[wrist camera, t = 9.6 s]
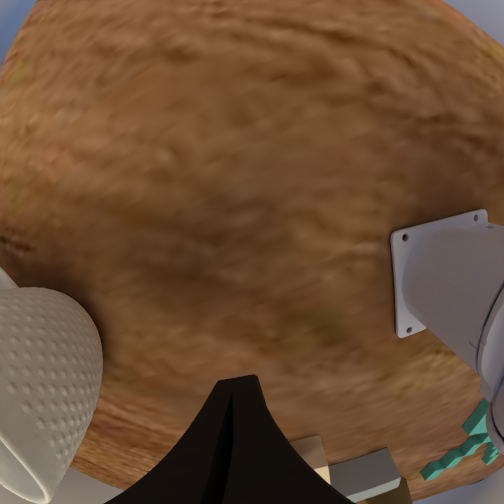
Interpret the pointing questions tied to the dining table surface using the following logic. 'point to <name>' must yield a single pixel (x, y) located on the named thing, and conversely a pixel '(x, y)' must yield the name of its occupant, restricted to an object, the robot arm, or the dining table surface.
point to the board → (365, 476)
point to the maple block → (313, 455)
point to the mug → (44, 386)
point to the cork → (393, 495)
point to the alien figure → (466, 444)
